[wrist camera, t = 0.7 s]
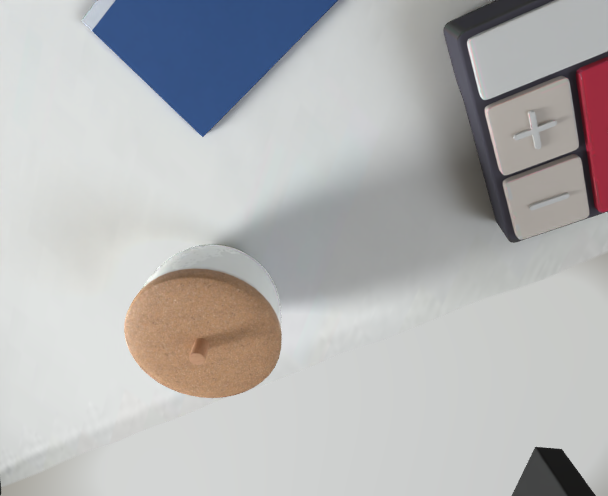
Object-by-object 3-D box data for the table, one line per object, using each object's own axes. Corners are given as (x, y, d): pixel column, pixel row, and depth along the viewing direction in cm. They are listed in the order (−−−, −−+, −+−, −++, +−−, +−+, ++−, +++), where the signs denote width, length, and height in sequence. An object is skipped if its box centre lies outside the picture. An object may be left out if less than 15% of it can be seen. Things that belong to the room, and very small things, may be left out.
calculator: (513, 251, 34) (458, 36, 27) (493, 220, 37) (440, 25, 30) (687, 193, 31) (679, -61, 24) (648, 167, 35) (630, -61, 28)
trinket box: (137, 233, 38) (87, 304, 30) (271, 211, 37) (257, 279, 29) (180, 338, 43) (147, 424, 35) (299, 322, 42) (294, 407, 34)
